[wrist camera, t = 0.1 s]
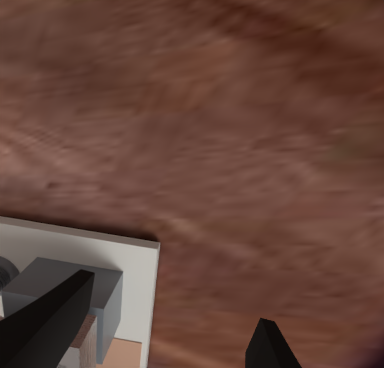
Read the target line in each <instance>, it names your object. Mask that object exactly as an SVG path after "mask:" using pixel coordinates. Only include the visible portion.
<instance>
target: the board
mask: <svg viewBox="0 0 384 368" xmlns="http://www.w3.org/2000/svg"><path fill="white" fill-rule="evenodd" d="M159 250H160V242H154V241H148V240H142V239H136V238H130V237H124V236H117V235H111V234H105V233H99V232H93V231H87V230H81V229H75V228H69V227H63V226H57V225H51V224H45V223H39V222H33V221H27V220H21V219H15V218H9V217H2V216H0V268H2V269H3V270H4V271H5V272H6V273H7V274H8V276H9V279H10V282H11V281H12V280H13V279H14V278H15V277H16V276H18V275H19V274H20V273H21V272H22V271H23V270H24V269H25V268H26V267H27V266H28V265H29V264H30V263H31V262H32V261H34V260H35V259H36V258H37V257H41V258H47V259H53V260H59V261H64V262H70V263H76V264H82V265H88V266H94V267H99V268H105V269H111V270H117V271H123V288H122V305H121V321H120V323H119V326H118V328H117V330H116V333H115V335H114V338H113V340H112V342H111V345H110V347H109V349H108V352H107V354H106V356H105V359H104V361H103V363H102V365H101V364H96V368H147V362H148V353H149V343H150V334H151V325H152V315H153V306H154V297H155V287H156V278H157V268H158V259H159ZM0 316H2V317H4V313H3V304H2V296H1V294H0Z"/></svg>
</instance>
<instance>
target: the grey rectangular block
mask: <svg viewBox="0 0 384 368" xmlns="http://www.w3.org/2000/svg"><path fill="white" fill-rule="evenodd" d="M80 269H83V270H87V271H90V272H94V273H95V277H94V283H93V290H92V296H91V302H90V308H89V312H88V314H90V315H96V316H97V341H96V364H101V365H102V363H103V361H104V359H105V356H106V354H107V352H108V349H109V347H110V345H111V342H112V340H113V338H114V335H115V333H116V330H117V328H118V326H119V323H120V321H121V305H122V288H123V271H117V270H111V269H105V268H99V267H94V266H88V265H82V264H76V263H70V262H64V261H59V260H53V259H47V258H41V257H37V258H36V259H35V260H34V261H32V262H31V263H30V264H29V265H28V266H27V267H26V268H25V269H24V270H23V271H22V272H21V273H20V274H19V275H18V276H16V277H15V278H14V279H13V280H12V281H11V282H10V283H9V284H8V285H7V286H6V287H5V288H4V289H3V290H2V291H1V296H2V304H3V313H4V317H8V316H10V315H11V314H13V313H15V312H17V311H18V310H20V309H22V308H23V307H25V306H27V305H28V304H30V303H32V302H33V301H35V300H36V299H38V298H39V297H41V296H42V295H44V294H46V293H47V292H49V291H50V290H52V289H53V288H55V287H56V286H57V285H59V284H60V283H62V282H63V281H65V280H66V279H67V278H69V277H70V276H72V275H73V274H74V273H76V272H77V271H79V270H80Z"/></svg>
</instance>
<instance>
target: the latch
mask: <svg viewBox="0 0 384 368" xmlns="http://www.w3.org/2000/svg"><path fill="white" fill-rule="evenodd" d="M9 283H10V279H9V276H8V274H7V273H6V272H5V271H4V270H3V269H2V268H0V294H1V291H2V290H3V289H4V288H5V287H6V286H7V285H8V284H9ZM4 318H6V317H2V316H0V320H2V319H4ZM96 341H97V316H96V315H90V314H87V316H86V318H85V320H84V322H83V324H82V326H81V328H80V330H79V332H78V334H77V335H76V337H75V339H74V340H73V342H72V343H71V345H70V347H69V348H68V350H67V351H66V353H65V355H64V356H63V358H62V359H61V361H60V362H59V364H58V366H57V367H56V368H96Z"/></svg>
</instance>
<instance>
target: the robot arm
mask: <svg viewBox="0 0 384 368" xmlns="http://www.w3.org/2000/svg"><path fill="white" fill-rule="evenodd" d="M94 277H95V273H94V272H90V271H87V270H83V269H80V270H79V271H77V272H76V273H74V274H73V275H72V276H70V277H69V278H67V279H66V280H65V281H63V282H62V283H60V284H59V285H57V286H56V287H55V288H53V289H52V290H50V291H49V292H47V293H46V294H44V295H42V296H41V297H39V298H38V299H36V300H35V301H33V302H32V303H30V304H28V305H27V306H25V307H23V308H22V309H20V310H18V311H17V312H15V313H13V314H11V315H10V316H8V317H6V318H4V319H2V320H0V368H56V367H57V366H58V364H59V362H60V361H61V359H62V358H63V356H64V355H65V353H66V351H67V350H68V348H69V347H70V345H71V343H72V342H73V340H74V339H75V337H76V335H77V334H78V332H79V330H80V328H81V326H82V324H83V322H84V320H85V318H86V316H87V314H88V312H89V308H90V302H91V296H92V290H93V283H94ZM245 368H302V367H301V366H300V364H299V362H298V361H297V359H296V357H295V356H294V354H293V352H292V351H291V349H290V347H289V346H288V344H287V342H286V340H285V339H284V337H283V335H282V333H281V332H280V330H279V328H278V326H277V325H276V323H275V322H274V321H271V320H267V319H263V318H260V320H259V322H258V325H257V327H256V329H255V332H254V334H253V336H252V339H251V341H250V343H249V346H248V348H247V350H246V355H245Z"/></svg>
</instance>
